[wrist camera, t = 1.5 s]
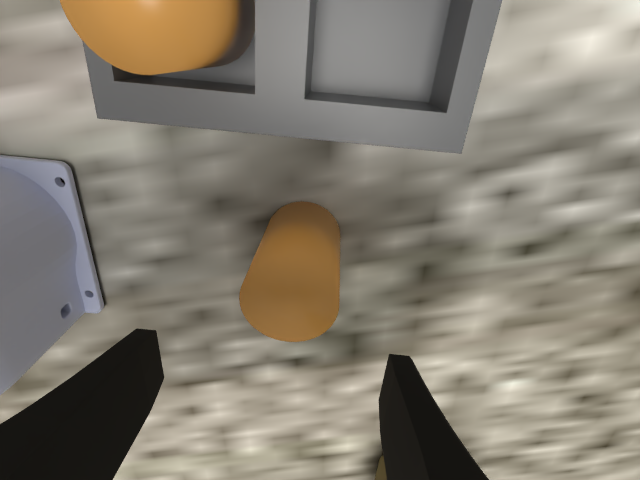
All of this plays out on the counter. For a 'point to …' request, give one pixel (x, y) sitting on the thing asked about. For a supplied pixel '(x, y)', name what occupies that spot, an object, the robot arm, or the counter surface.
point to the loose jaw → (294, 275)
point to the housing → (291, 66)
